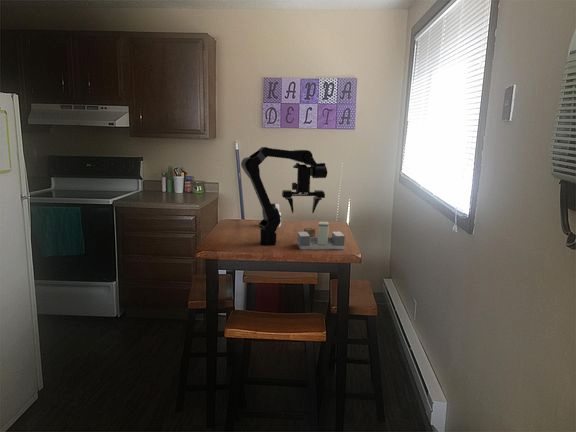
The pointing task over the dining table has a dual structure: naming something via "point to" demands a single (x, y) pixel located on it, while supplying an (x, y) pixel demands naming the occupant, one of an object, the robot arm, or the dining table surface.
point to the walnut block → (310, 231)
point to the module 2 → (338, 238)
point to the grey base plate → (315, 244)
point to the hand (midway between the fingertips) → (302, 213)
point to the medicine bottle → (278, 210)
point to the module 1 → (303, 239)
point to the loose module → (323, 233)
